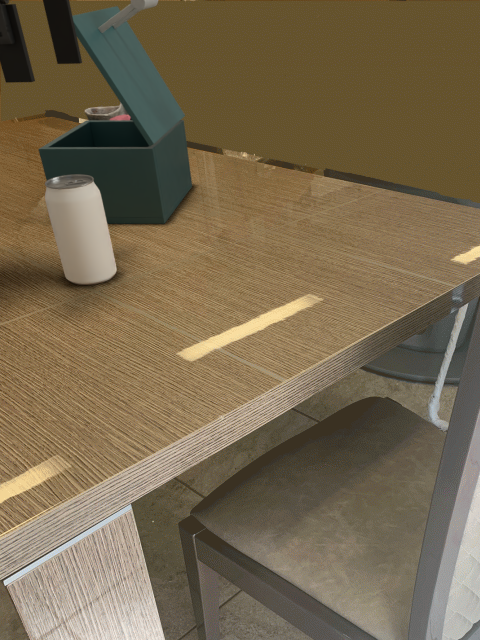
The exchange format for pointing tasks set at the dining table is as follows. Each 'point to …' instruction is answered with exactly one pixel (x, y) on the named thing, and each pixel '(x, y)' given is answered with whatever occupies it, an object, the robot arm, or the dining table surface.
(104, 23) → the cooler lid
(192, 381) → the dining table surface
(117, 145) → the cooler
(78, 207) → the can
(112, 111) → the mug
